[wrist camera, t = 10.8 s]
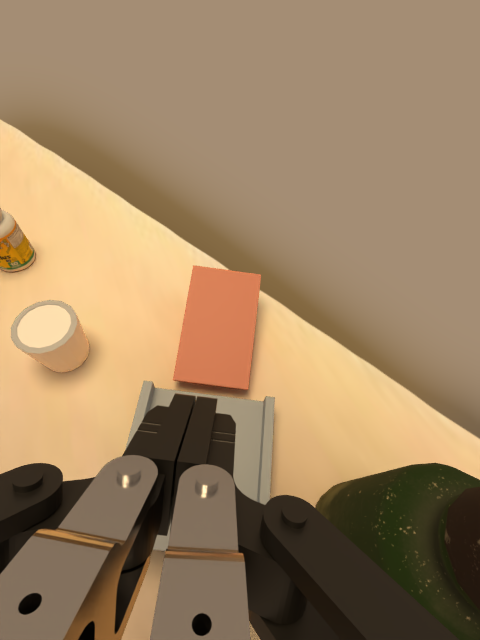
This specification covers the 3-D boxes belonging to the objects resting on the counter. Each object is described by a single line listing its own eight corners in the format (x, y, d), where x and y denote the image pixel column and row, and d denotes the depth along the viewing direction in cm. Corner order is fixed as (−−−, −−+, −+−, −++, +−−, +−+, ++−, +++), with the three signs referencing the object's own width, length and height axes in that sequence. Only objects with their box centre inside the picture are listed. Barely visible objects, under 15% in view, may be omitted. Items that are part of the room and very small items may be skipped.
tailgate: (248, 389, 40) (261, 274, 44) (173, 379, 39) (193, 265, 44) (246, 390, 41) (259, 280, 46) (175, 381, 41) (194, 271, 45)
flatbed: (260, 553, 34) (277, 564, 26) (112, 536, 33) (84, 541, 26) (268, 407, 41) (283, 382, 34) (148, 392, 41) (135, 363, 33)
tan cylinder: (106, 349, 43) (90, 322, 37) (61, 388, 40) (36, 365, 34) (71, 319, 45) (50, 289, 39) (25, 355, 42) (-4, 328, 36)
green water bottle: (290, 543, 34) (431, 586, 13) (342, 461, 39) (509, 393, 18) (378, 628, 32) (744, 864, 10) (422, 529, 36) (739, 547, 15)
